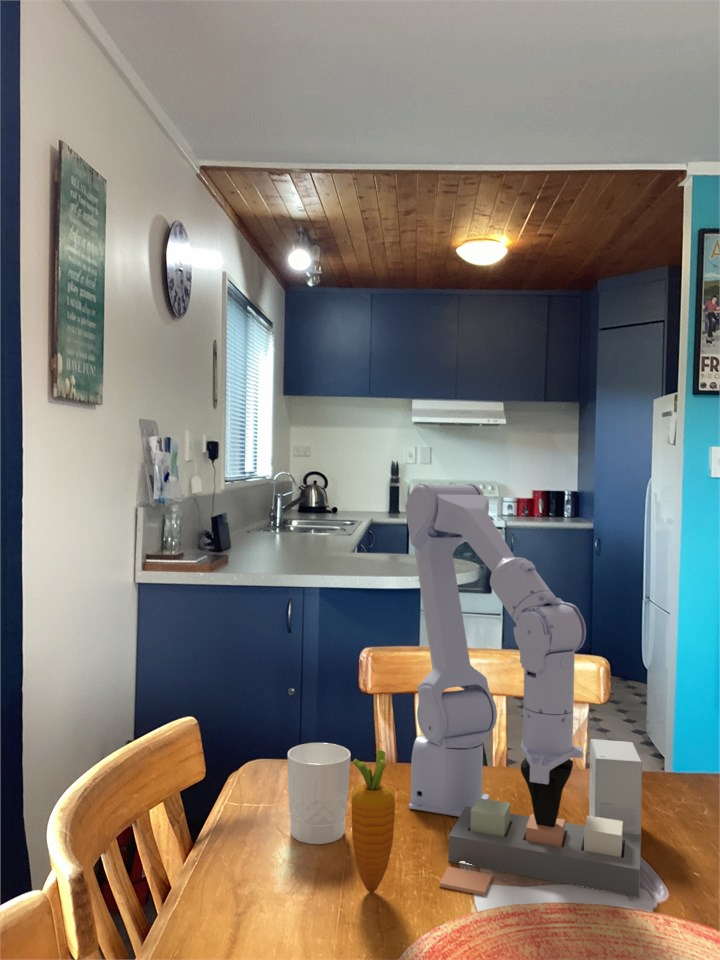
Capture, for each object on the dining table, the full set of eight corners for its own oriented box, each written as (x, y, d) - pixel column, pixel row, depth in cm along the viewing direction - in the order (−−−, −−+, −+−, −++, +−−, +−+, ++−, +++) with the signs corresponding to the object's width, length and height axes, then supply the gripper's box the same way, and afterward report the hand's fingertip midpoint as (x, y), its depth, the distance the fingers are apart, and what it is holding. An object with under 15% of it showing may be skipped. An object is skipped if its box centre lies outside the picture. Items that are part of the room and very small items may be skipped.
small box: (641, 848, 97) (643, 762, 97) (593, 843, 98) (595, 758, 98) (632, 820, 105) (634, 741, 105) (588, 816, 106) (590, 737, 106)
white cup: (359, 827, 101) (360, 748, 101) (331, 852, 94) (333, 768, 94) (305, 814, 105) (306, 738, 105) (274, 839, 98) (275, 757, 98)
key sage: (470, 839, 94) (470, 810, 94) (477, 826, 98) (477, 797, 98) (503, 845, 93) (504, 816, 93) (509, 831, 97) (510, 803, 97)
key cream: (583, 860, 90) (584, 829, 90) (586, 845, 94) (587, 815, 94) (620, 866, 88) (621, 835, 88) (622, 851, 92) (622, 821, 92)
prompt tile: (439, 886, 87) (439, 882, 87) (448, 869, 91) (448, 866, 91) (484, 895, 85) (485, 892, 85) (492, 878, 89) (492, 874, 89)
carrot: (359, 908, 82) (362, 763, 82) (341, 885, 87) (343, 748, 87) (402, 899, 84) (405, 757, 84) (382, 877, 89) (385, 743, 89)
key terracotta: (525, 857, 92) (525, 827, 92) (530, 842, 96) (530, 813, 96) (560, 864, 91) (561, 833, 91) (564, 848, 94) (564, 819, 94)
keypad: (448, 861, 93) (448, 835, 93) (465, 829, 101) (465, 806, 101) (639, 897, 85) (639, 869, 85) (640, 860, 94) (640, 835, 94)
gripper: (577, 730, 85) (575, 856, 85) (588, 696, 99) (586, 805, 99) (511, 721, 88) (509, 845, 88) (530, 689, 101) (528, 796, 101)
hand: (545, 823), depth 93 cm, fingers closed, pressing on key terracotta
